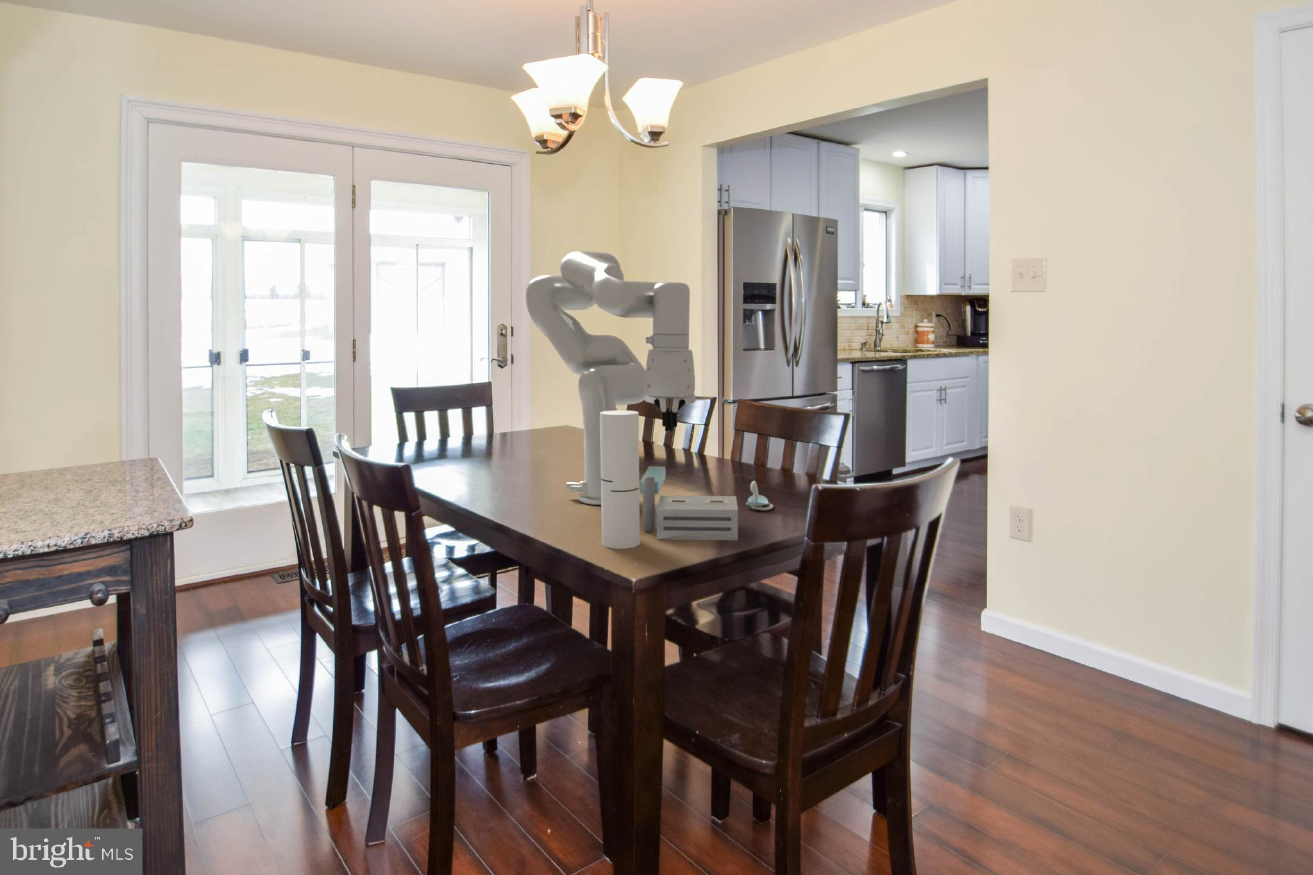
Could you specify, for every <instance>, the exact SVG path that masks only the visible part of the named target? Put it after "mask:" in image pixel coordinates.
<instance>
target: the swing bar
mask: <svg viewBox="0 0 1313 875" xmlns="http://www.w3.org/2000/svg"><path fill="white" fill-rule="evenodd" d="M665 479H666V466H659V465H658V466H655V465H654V466H653V465H652V466H648V467H647V469H646V471H645V472H644V474H643V476H642V477H641V479H640V480H639V495H642V530H643V532H653V531H655V530H656V495H659V493H660V491H661V489H662V486H663V484H664V482H665Z"/></svg>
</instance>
